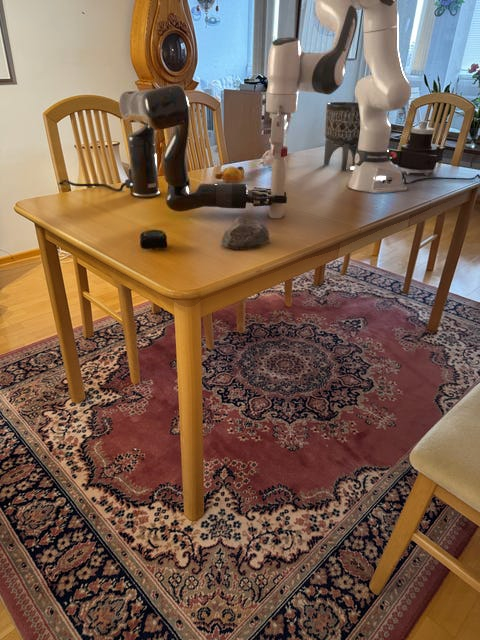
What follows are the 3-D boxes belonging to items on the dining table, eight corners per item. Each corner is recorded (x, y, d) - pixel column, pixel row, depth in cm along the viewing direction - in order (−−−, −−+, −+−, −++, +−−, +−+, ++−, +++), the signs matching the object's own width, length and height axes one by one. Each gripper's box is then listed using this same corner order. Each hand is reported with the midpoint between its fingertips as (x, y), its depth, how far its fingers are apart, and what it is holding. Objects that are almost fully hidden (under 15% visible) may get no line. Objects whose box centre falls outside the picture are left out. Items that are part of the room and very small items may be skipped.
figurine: (286, 165, 210) (288, 136, 203) (269, 171, 199) (270, 140, 193) (271, 163, 214) (272, 134, 207) (253, 168, 203) (254, 138, 196)
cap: (281, 153, 137) (282, 145, 135) (289, 156, 133) (290, 147, 132) (270, 154, 135) (270, 146, 134) (277, 157, 132) (278, 148, 130)
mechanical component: (390, 120, 192) (418, 115, 212) (381, 171, 203) (408, 162, 223) (441, 125, 180) (466, 119, 200) (429, 179, 191) (453, 169, 211)
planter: (313, 167, 208) (319, 103, 195) (331, 160, 222) (338, 101, 209) (353, 173, 199) (362, 107, 185) (369, 166, 213) (379, 104, 199)
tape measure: (140, 252, 115) (139, 238, 113) (141, 242, 120) (140, 229, 119) (167, 251, 116) (166, 237, 114) (167, 241, 121) (166, 228, 120)
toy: (212, 175, 175) (219, 166, 187) (218, 191, 178) (224, 181, 190) (239, 166, 171) (244, 157, 184) (245, 182, 174) (249, 173, 187)
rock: (255, 233, 128) (256, 211, 124) (276, 242, 122) (278, 219, 119) (217, 244, 120) (217, 220, 117) (239, 254, 115) (239, 230, 111)
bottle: (285, 217, 143) (290, 149, 133) (274, 219, 141) (279, 150, 131) (276, 213, 146) (281, 147, 136) (266, 215, 144) (270, 148, 134)
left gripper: (230, 189, 133) (288, 191, 132) (232, 178, 145) (285, 179, 145) (229, 214, 136) (286, 216, 136) (232, 201, 149) (284, 203, 148)
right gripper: (290, 109, 118) (287, 163, 125) (294, 102, 136) (290, 150, 143) (266, 108, 119) (264, 162, 126) (273, 101, 137) (270, 149, 144)
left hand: (285, 197), depth 140 cm, fingers closed on bottle, 4 cm apart
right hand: (278, 156), depth 135 cm, fingers open, 6 cm apart
